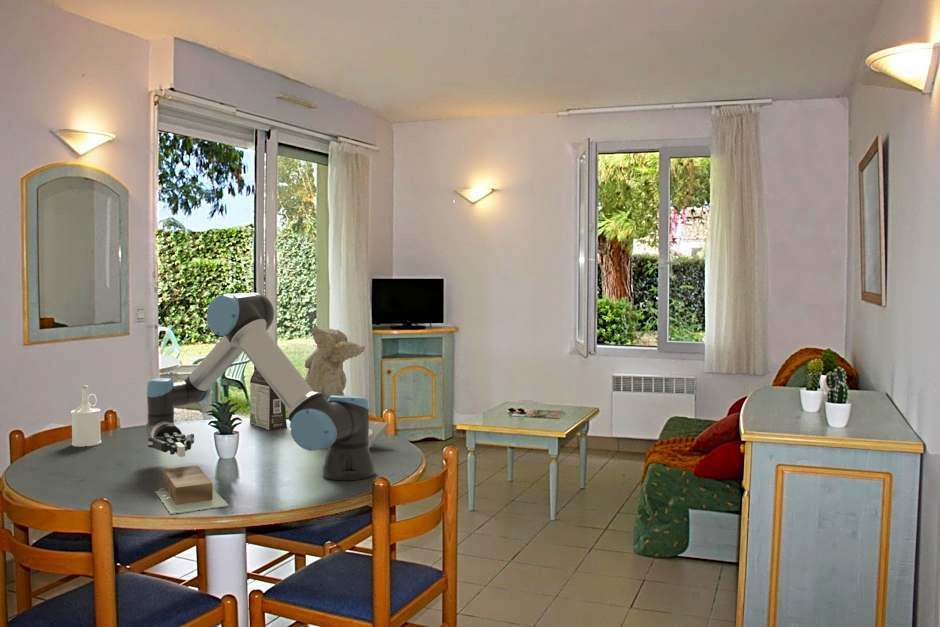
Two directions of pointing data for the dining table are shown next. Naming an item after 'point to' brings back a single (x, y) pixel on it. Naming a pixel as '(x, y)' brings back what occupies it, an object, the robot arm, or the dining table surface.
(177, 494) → the block
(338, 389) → the sculpture
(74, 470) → the dining table surface
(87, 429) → the white handled jug
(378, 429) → the light switch
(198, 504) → the mat
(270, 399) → the protein powder
